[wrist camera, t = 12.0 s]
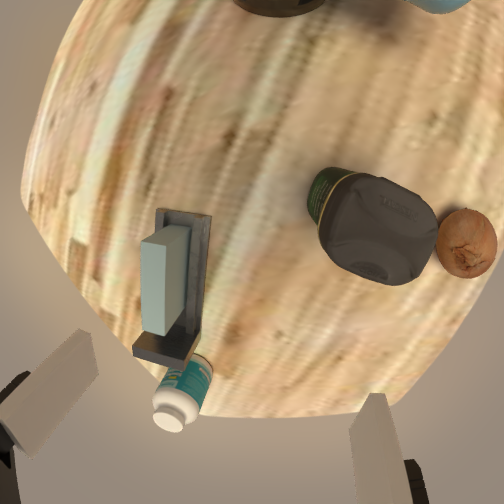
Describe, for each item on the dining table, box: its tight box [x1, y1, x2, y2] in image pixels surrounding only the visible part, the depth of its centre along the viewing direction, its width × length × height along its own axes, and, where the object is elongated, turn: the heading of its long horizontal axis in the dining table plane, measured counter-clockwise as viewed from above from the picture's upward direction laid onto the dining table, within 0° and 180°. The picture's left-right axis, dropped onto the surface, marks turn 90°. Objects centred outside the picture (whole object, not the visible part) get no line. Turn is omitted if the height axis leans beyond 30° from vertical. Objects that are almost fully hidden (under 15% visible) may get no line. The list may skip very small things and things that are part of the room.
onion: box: [436, 208, 497, 278], centre depth 31 cm, size 10×9×10 cm
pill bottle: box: [153, 354, 213, 432], centre depth 41 cm, size 8×7×14 cm
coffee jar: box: [307, 167, 438, 286], centre depth 27 cm, size 10×8×19 cm
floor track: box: [132, 208, 212, 371], centre depth 39 cm, size 20×8×9 cm, turn 172°
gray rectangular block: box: [141, 224, 192, 336], centre depth 37 cm, size 12×3×9 cm, turn 172°
